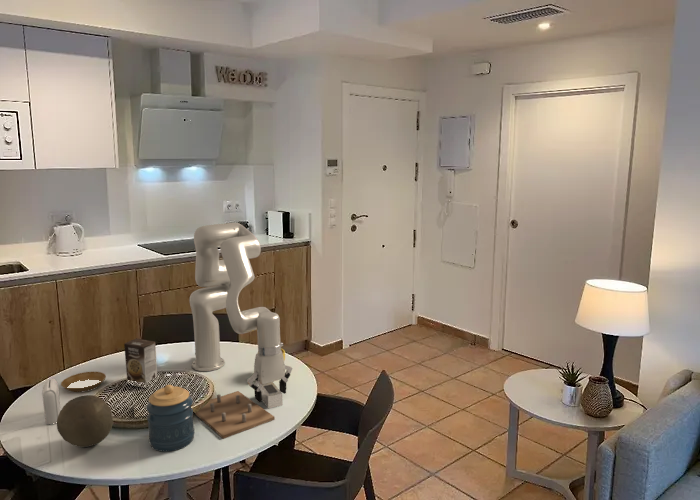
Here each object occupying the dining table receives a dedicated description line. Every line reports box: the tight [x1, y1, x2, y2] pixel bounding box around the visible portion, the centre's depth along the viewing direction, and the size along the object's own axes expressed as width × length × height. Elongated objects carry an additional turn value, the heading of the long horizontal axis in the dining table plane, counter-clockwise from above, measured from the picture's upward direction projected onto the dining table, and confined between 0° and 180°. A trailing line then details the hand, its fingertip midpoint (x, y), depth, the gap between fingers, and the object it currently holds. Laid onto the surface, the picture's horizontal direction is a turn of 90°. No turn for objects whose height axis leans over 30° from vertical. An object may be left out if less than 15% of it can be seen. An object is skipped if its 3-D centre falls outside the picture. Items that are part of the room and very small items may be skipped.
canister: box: [146, 384, 196, 452], centre depth 159 cm, size 13×13×18 cm
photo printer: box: [41, 378, 62, 425], centre depth 173 cm, size 10×4×12 cm, turn 26°
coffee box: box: [123, 338, 158, 383], centre depth 197 cm, size 9×6×16 cm
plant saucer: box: [60, 371, 107, 393], centre depth 197 cm, size 15×15×3 cm
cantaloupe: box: [56, 394, 114, 448], centre depth 156 cm, size 14×14×15 cm
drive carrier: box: [260, 382, 284, 409], centre depth 185 cm, size 10×5×5 cm, turn 27°
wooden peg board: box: [195, 390, 276, 439], centre depth 176 cm, size 24×18×4 cm
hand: (270, 396), depth 185 cm, fingers open, 9 cm apart
